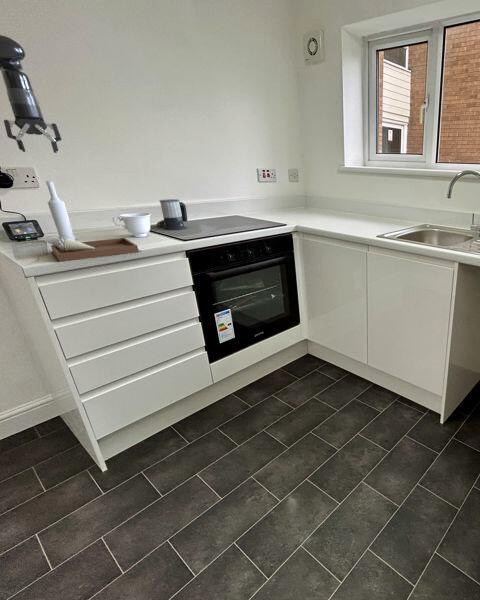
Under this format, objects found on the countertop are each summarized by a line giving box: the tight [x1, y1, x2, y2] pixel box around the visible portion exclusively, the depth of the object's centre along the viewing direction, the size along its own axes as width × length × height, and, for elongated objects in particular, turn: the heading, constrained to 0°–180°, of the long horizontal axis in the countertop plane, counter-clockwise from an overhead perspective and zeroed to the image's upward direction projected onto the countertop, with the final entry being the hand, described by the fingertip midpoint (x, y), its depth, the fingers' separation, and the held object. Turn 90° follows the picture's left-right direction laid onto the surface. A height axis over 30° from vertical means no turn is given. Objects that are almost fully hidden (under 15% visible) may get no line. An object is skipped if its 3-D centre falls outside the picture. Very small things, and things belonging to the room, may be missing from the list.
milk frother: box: [156, 198, 188, 231], centre depth 188 cm, size 14×16×15 cm
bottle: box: [45, 180, 76, 240], centre depth 150 cm, size 5×5×25 cm
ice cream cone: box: [45, 238, 94, 251], centre depth 136 cm, size 5×5×15 cm
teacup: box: [112, 212, 152, 238], centre depth 165 cm, size 12×15×10 cm
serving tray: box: [50, 237, 140, 262], centre depth 138 cm, size 24×20×3 cm
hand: (40, 152), depth 132 cm, fingers open, 8 cm apart
